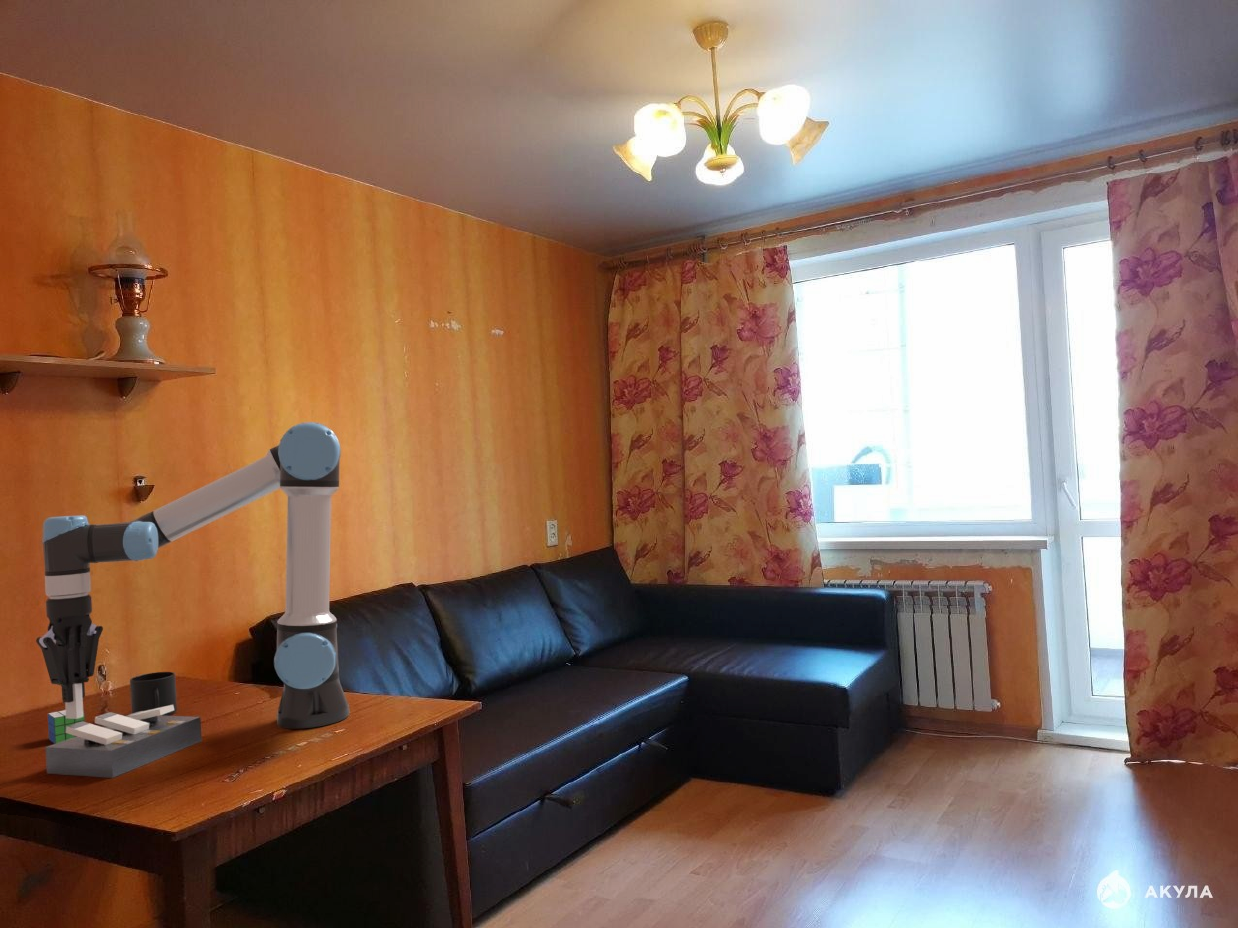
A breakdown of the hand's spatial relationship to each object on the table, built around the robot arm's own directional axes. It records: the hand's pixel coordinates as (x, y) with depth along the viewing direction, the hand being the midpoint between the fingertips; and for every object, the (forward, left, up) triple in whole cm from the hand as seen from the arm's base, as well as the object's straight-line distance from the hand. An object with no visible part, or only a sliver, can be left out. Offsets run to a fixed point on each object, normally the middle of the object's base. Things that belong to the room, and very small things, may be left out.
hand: (74, 717), depth 174 cm
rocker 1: (-5, 0, -3) cm, 5 cm away
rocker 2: (-5, -7, -3) cm, 8 cm away
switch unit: (-6, -7, -9) cm, 13 cm away
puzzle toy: (+20, -15, -10) cm, 27 cm away
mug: (+14, -33, -10) cm, 37 cm away
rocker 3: (-5, -13, -3) cm, 14 cm away
